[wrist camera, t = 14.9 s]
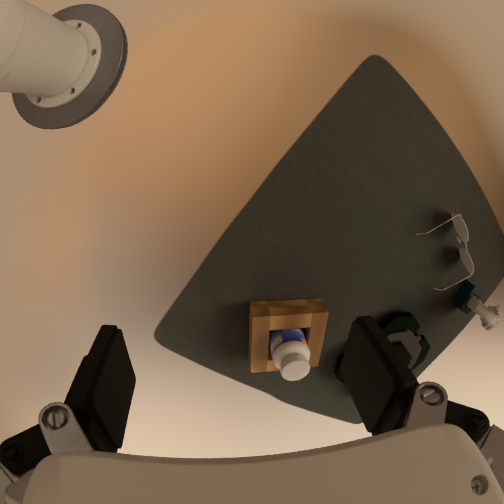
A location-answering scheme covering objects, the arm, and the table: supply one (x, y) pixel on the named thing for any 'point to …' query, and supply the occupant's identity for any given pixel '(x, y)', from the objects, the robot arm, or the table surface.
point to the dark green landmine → (400, 340)
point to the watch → (476, 305)
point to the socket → (284, 317)
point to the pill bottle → (290, 353)
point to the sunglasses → (463, 234)
